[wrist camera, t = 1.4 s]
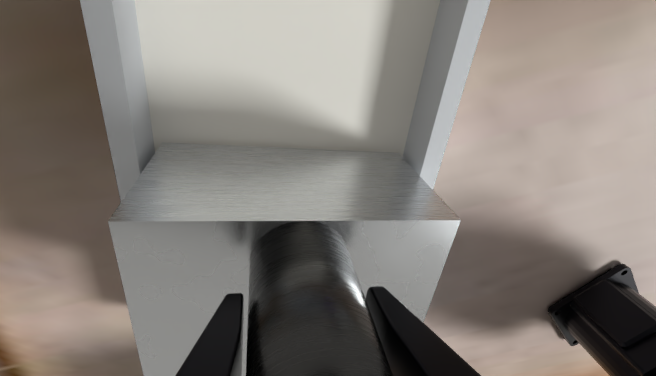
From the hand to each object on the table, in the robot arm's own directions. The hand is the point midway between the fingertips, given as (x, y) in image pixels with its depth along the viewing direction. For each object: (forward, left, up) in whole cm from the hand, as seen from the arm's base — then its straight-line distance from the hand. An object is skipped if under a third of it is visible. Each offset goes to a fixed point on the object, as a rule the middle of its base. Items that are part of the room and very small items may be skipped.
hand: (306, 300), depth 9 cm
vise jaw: (-2, +2, -7) cm, 7 cm away
